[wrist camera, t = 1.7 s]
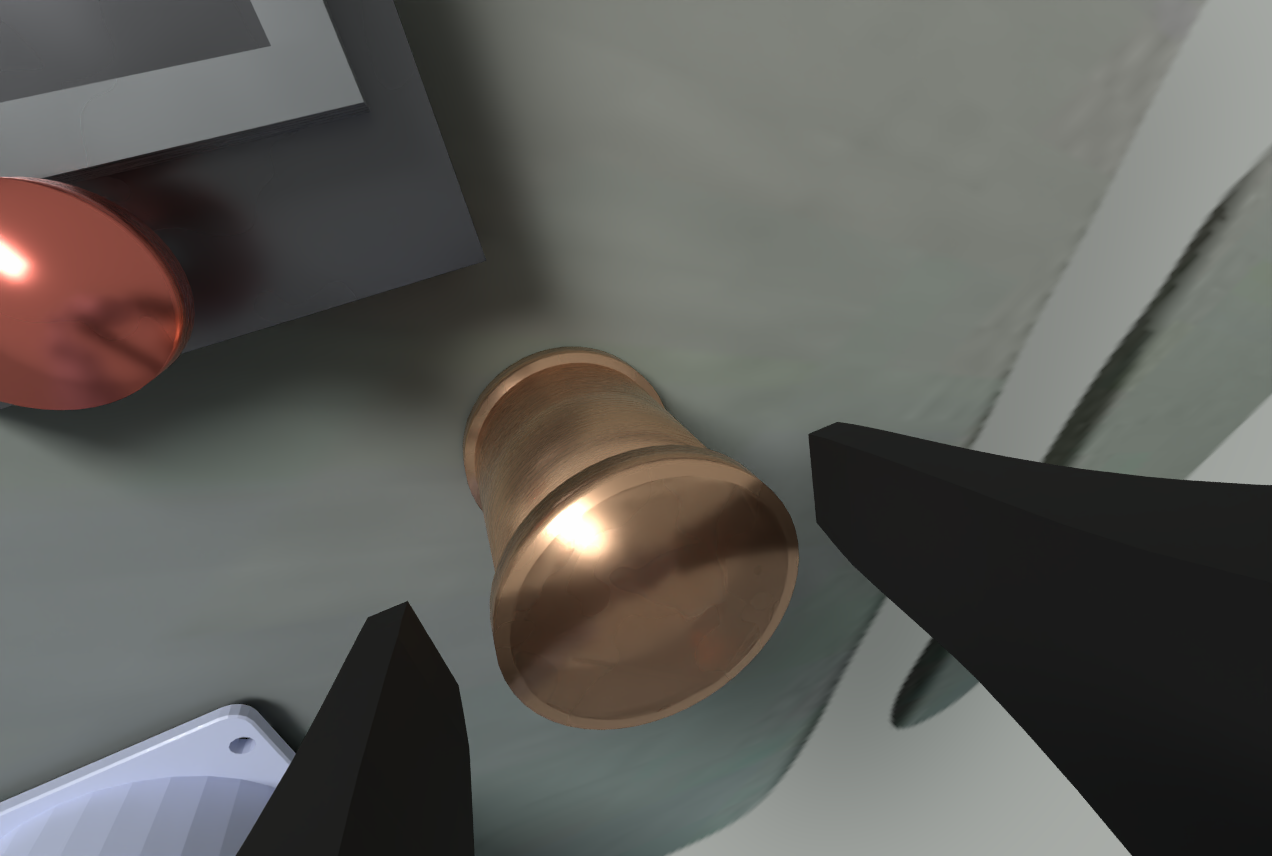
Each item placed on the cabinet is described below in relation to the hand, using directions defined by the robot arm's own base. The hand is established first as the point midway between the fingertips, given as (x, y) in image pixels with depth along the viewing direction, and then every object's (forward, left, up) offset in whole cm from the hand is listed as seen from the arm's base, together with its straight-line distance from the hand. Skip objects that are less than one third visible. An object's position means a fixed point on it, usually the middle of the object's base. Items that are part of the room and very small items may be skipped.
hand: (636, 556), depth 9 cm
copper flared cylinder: (0, 0, -5) cm, 5 cm away
